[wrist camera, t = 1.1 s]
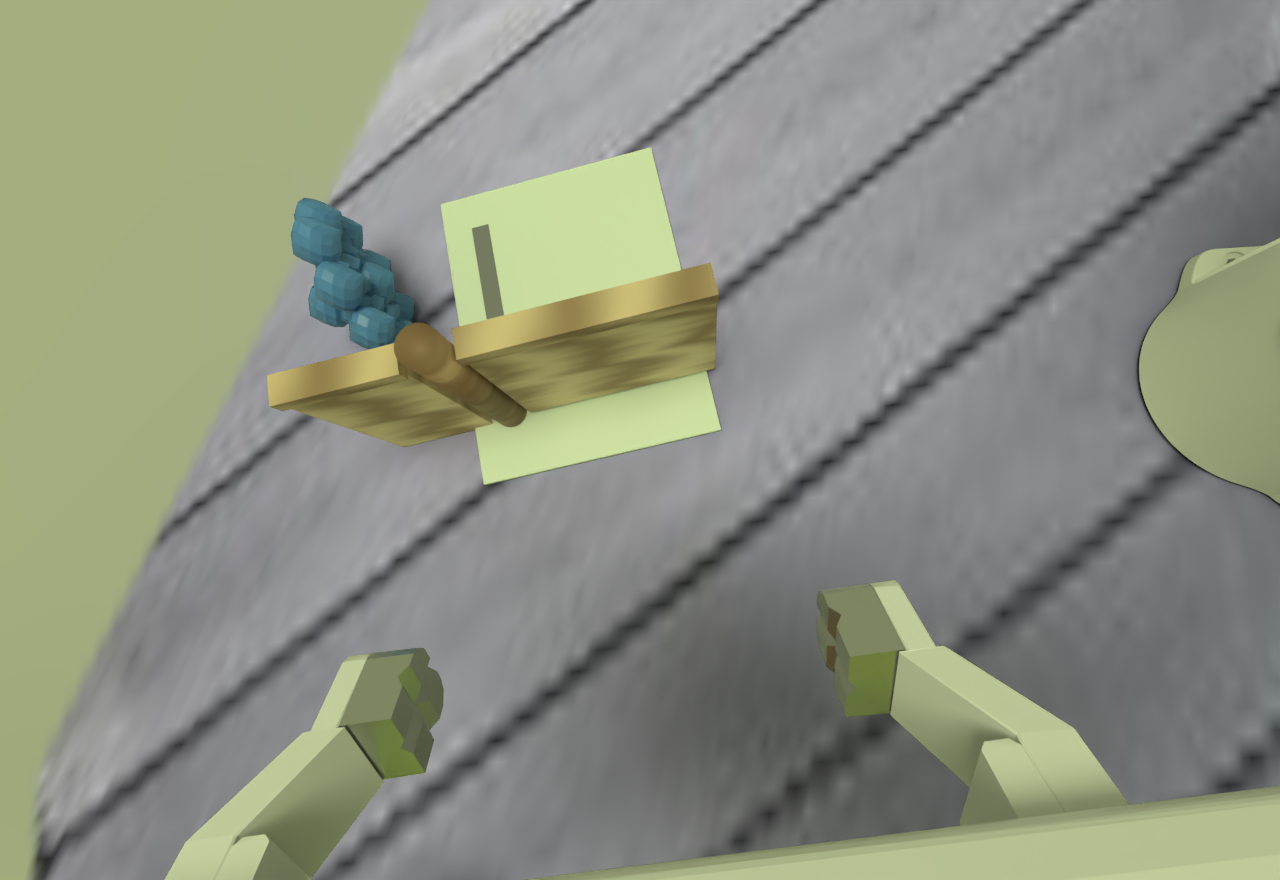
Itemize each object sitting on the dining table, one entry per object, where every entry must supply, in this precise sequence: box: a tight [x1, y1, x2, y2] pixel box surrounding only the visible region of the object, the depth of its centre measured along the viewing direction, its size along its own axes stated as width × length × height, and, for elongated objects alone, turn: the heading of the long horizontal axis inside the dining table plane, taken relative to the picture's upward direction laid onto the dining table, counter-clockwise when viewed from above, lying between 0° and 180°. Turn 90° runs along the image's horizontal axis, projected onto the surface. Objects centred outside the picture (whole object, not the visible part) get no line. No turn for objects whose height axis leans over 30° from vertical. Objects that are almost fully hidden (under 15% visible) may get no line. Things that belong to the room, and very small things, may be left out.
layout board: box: [441, 147, 721, 485], centre depth 45 cm, size 18×24×1 cm
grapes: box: [291, 198, 414, 349], centre depth 41 cm, size 12×7×12 cm, turn 26°
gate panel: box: [452, 263, 719, 412], centre depth 36 cm, size 14×2×13 cm, turn 102°
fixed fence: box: [267, 323, 527, 447], centre depth 37 cm, size 10×2×15 cm, turn 102°
